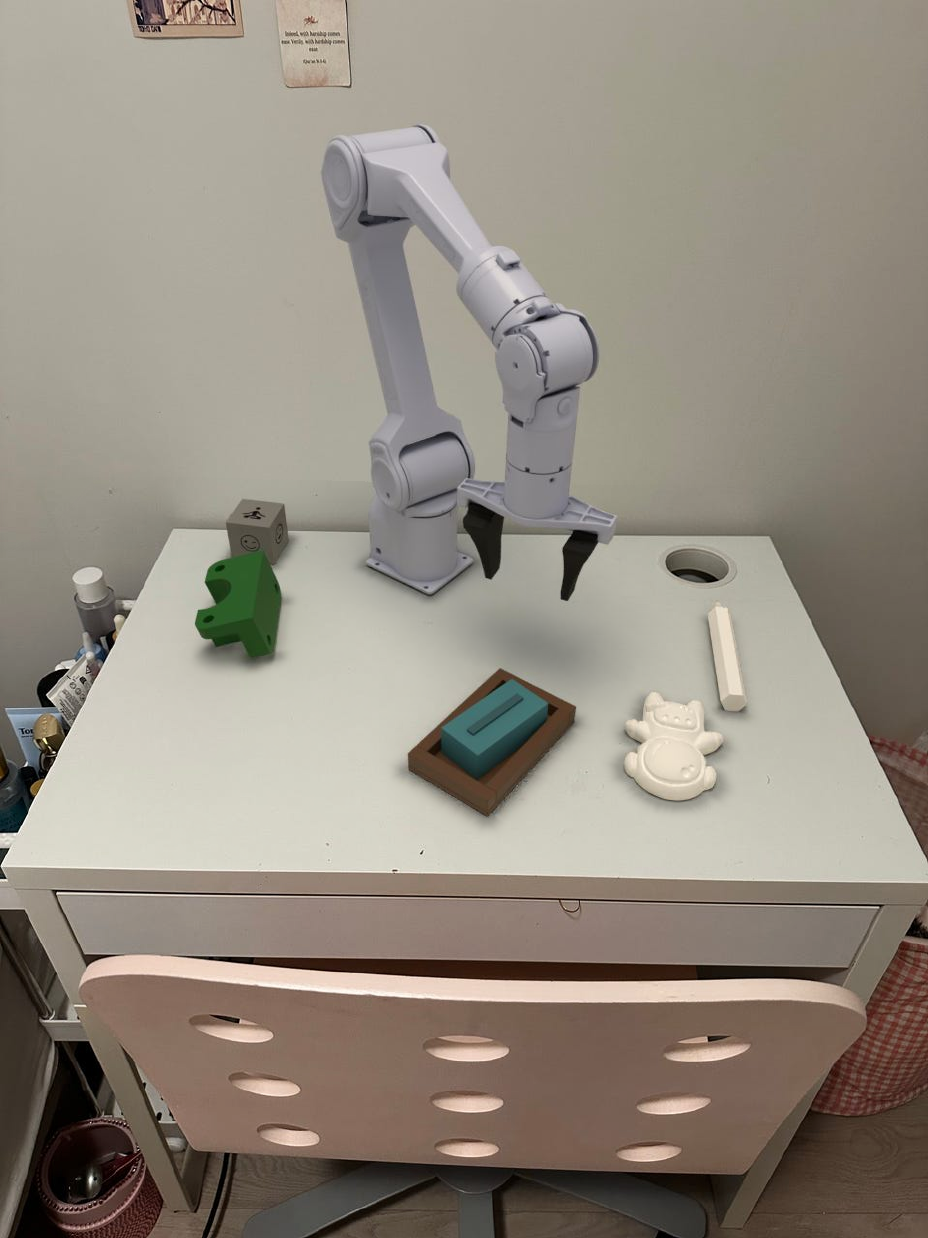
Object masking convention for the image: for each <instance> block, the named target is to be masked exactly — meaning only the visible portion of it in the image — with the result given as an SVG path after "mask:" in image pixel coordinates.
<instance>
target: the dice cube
mask: <svg viewBox="0 0 928 1238" xmlns="http://www.w3.org/2000/svg"><path fill="white" fill-rule="evenodd" d="M225 526H226V532H227V537H228V543H229V548H230V555H231V558H233V557H237V556H241V555H245V554H249V553H253V552H258V551H262V550H264V552H265V555H266V557H267V559H268V561H269V563H270V565H273V566H275V564H276V562H277V561H278V559H279V557H280V555H281V554H282V552H283V551H284V549H285V547H286V546H287V544H288V542H289V540H290V538H289V531H288V522H287V515H286V505H285V503H282V502H273V501H266V500H265V501H264V500H257V499H256V500H255V499H250V498H249V499H248V498H241V500H240V501H239V503H238V504H237V506H236V507H235V508H234V510H233V511H232V513H231V514H230V515H229V517H228V518H227V520H226V521H225Z"/></svg>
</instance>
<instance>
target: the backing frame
mask: <svg viewBox="0 0 928 1238" xmlns="http://www.w3.org/2000/svg"><path fill="white" fill-rule="evenodd" d="M511 679H513V680H514V681H516V682H517V683H519V684H520V685H522V686H523V687H525V688H526V689H528V690H529V691H531V692H532V693H534V694H535V695H537V696H538V697H540V698H541V699H543V700H544V701H546V702H547V703H548V712H547V721H546V722H545V723H544V724H543V725H542V726H541V727H540V728H539V729H538V731H537V732H536V733H535V734H534V735H533V736H532V737H531V738H530V739H529V740H528V741H527V742H526V743H525V744H524V745H523V746H522V747H520V748H519V749H518V750H516V751H515V752H514V753H512V754H511V755H510V756H508V757H507V758H506V759H504V760H503V761H502V762H500V763H499V764H498V765H496V766H495V767H494V768H493V769H491V770H490V771H489V772H487V773H486V774H485V775H483V776H482V777H481V778H479V779H478V780H476V779H475V778H473V777H472V776H471V775H469V774H468V773H467V772H466V771H464V770H463V769H462V768H460V767H459V766H458V765H457V764H455V763H454V762H453V761H451V760H450V759H449V758H448V757H446V756H445V755H444V754H442V753H441V728H442V727H443V726H444V725H446V724H447V723H449V722H450V721H452V720H453V719H454V718H456V717H457V716H459V715H460V714H462V713H463V712H465V711H466V710H467V709H469V708H470V707H472V706H473V705H475V704H476V703H478V702H479V701H480V700H482V699H483V698H485V697H486V696H488V695H489V694H491V693H492V692H493V691H495V690H496V689H498V688H499V687H501V686H502V685H504V684H505V683H506V682H508V681H509V680H511ZM576 712H577V706H576V705H574V704H572V703H570V702H568V701H567V700H565V699H562V698H561V697H558V696H556V695H555V694H552V693H550V692H548V691H546V690H544V689H543V688H540V687H539V686H537V685H535V684H532V683H531V682H529V681H527V680H525V679H524V678H523V679H522V678H521V677H519V676H517V675H514V674H513V673H511V672H510V671H507V670H505V669H503V668H498V669H497V670H496V671H495V672H493V674H491V676H489V677H488V678H487V679H486V680H485V681H484V682H483V683H481V685H480V686H479V687H477V688H476V690H474V691H473V692H472V693H471V694H470V695H468V697H467V698H465V700H463V702H462V703H460V704H459V705H458V706H457V707H456V708H455V709H454V710H453V711H452V712H450V713H449V714H448V715H447V716H446V717H445V718H444V719H443V720H442V721H441V722H440V723H438V724H437V726H435V727H434V728H433V729H432V730H431V731H430V732H429V733H428V734H427V735H426V736H424V738H423V739H422V740H420V741H419V742H418V743H417V744H416V745H415V746H414V747H412V749H411V750H410V751H409V752H407V764H408V766H407V770H409V771H411V772H412V773H414V774H415V775H417V776H419V777H421V778H422V779H424V780H425V781H427V782H429V783H430V784H432V785H434V786H436V787H437V788H439V789H440V790H442V791H444V792H446V794H449V795H450V796H452V797H454V798H456V799H457V800H459V801H460V802H462V803H464V804H466V806H469V807H471V808H472V809H474V810H476V811H477V812H479V813H481V814H482V815H484V816H485V817H489V815H491V814H492V812H493V811H495V809H496V808H497V807H498V806H499V805H500V804H501V802H502V801H504V800H505V798H506V797H507V796H508V795H509V794H510V793H511V792H512V790H514V789H515V787H516V786H517V785H518V784H519V783H520V782H521V781H522V780H523V778H525V776H527V775H528V773H529V772H530V771H531V770H532V769H533V768H534V767H535V766H536V765H537V764H538V762H539V761H540V760H542V758H543V757H544V756H545V755H546V754H547V752H548V751H549V750H550V749H551V748H553V746H554V745H555V744H556V743H557V742H558V741H559V740H560V739H561V738H562V736H563V735H564V734H565V733H566V732H567V731H568V730H569V729H570V728H571V727H572V726H573V724H575V721H576Z"/></svg>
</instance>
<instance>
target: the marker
mask: <svg viewBox="0 0 928 1238" xmlns="http://www.w3.org/2000/svg"><path fill="white" fill-rule="evenodd" d="M707 619H708V620H707V621H708V627H709V633H710V639H711V647H712V651H713V661H714V666H715V667H714V668H715V672H716V680H717V686H718V692H719V693H718V694H719V699H720V703H721V705H722V707H723V709H724V711H727V712H739V711H741V710H742V709H743V708H745V706H747V705H748V701H747V696H746V695H747V694H746V690H745V685H744V684H745V683H744V680H743V673H742V668H741V662H740V657H739V656H740V655H739V652H738V646H737V640H736V635H735V629H734V624H733V618H732V615H731V612H730V611H729V608H728V607H723V605H722V604H721V603H720V602H719V599H716V601H715V604H714V606H713V608H712V609H711V610H710V611H709V612H708V613H707Z"/></svg>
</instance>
